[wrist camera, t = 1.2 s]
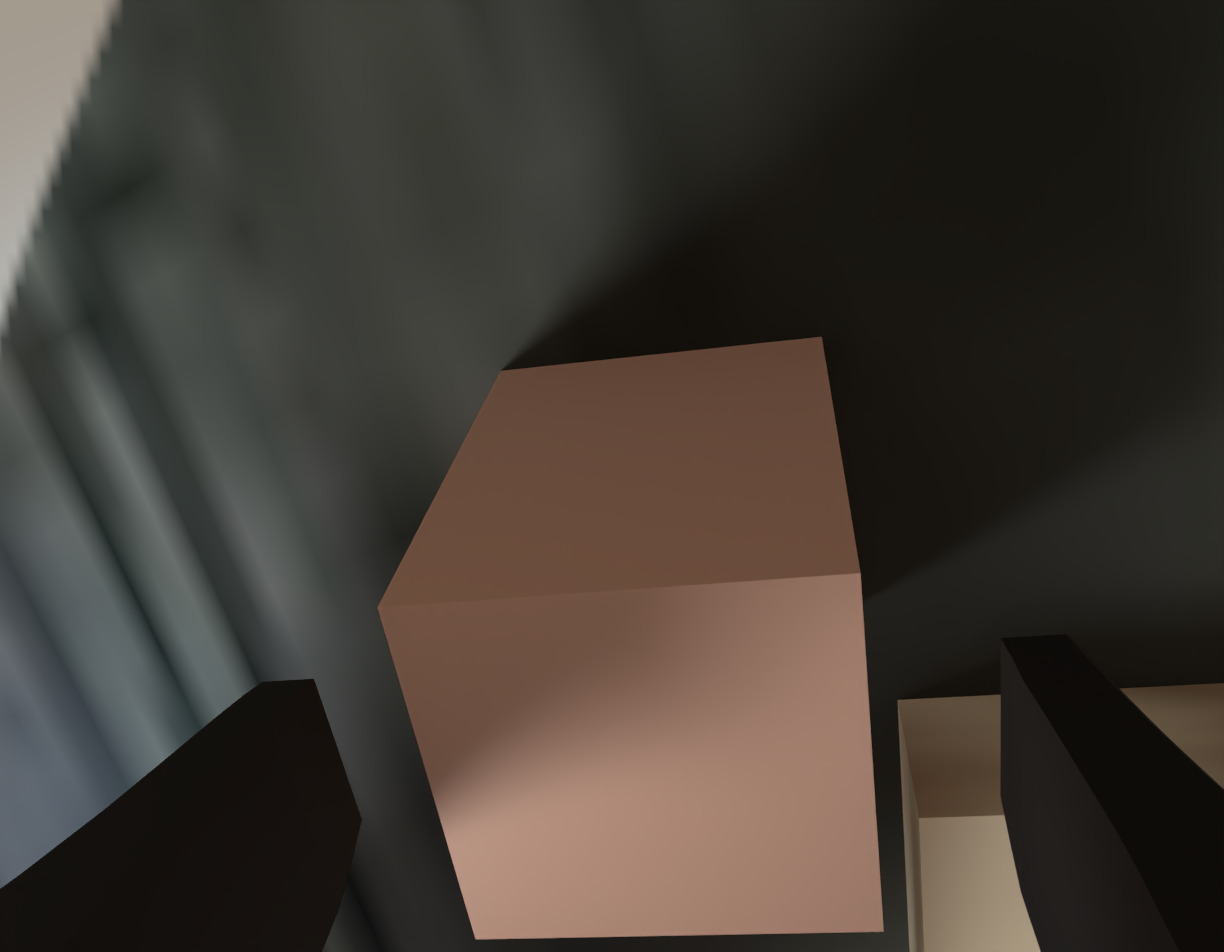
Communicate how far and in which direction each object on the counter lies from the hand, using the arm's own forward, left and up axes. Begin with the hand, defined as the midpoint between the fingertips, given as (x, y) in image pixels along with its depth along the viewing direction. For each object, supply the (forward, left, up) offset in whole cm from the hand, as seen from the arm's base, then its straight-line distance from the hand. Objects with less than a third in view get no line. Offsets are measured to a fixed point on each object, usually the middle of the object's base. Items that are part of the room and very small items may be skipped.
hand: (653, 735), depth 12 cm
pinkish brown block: (0, 0, -5) cm, 5 cm away
